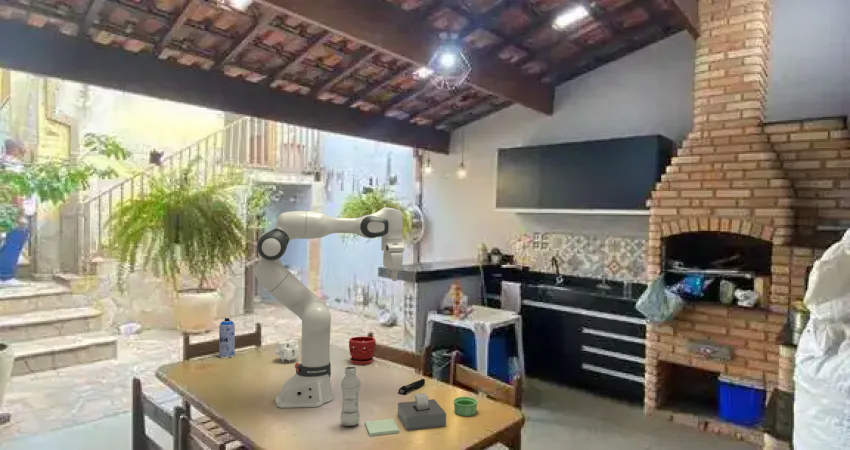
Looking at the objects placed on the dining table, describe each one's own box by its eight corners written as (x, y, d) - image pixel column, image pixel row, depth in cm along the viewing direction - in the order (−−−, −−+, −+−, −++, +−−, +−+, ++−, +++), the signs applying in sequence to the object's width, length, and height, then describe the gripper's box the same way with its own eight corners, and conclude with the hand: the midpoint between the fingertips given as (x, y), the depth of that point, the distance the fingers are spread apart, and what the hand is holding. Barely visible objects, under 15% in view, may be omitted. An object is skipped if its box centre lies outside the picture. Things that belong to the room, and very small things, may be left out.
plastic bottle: (341, 421, 179) (341, 365, 178) (360, 420, 179) (360, 365, 179) (339, 429, 172) (339, 371, 172) (359, 428, 173) (359, 370, 173)
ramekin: (470, 419, 182) (470, 407, 182) (449, 413, 186) (449, 402, 186) (481, 411, 189) (481, 399, 189) (460, 406, 194) (460, 394, 194)
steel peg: (417, 423, 177) (417, 398, 177) (414, 418, 181) (414, 394, 181) (428, 422, 179) (428, 396, 178) (425, 417, 182) (425, 393, 182)
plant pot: (373, 366, 245) (373, 341, 245) (347, 366, 245) (347, 341, 245) (376, 358, 258) (376, 335, 258) (351, 358, 258) (351, 335, 258)
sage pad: (369, 436, 167) (369, 433, 167) (364, 424, 176) (364, 421, 176) (399, 432, 170) (399, 429, 169) (392, 421, 179) (392, 418, 179)
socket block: (407, 430, 171) (407, 417, 171) (397, 415, 185) (397, 402, 185) (446, 426, 175) (446, 413, 175) (434, 411, 189) (434, 399, 189)
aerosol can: (215, 358, 258) (215, 319, 257) (224, 354, 265) (224, 316, 265) (229, 358, 256) (229, 319, 256) (238, 354, 264) (238, 316, 264)
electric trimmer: (427, 386, 217) (427, 379, 217) (404, 396, 205) (404, 388, 205) (420, 384, 220) (420, 377, 220) (397, 394, 207) (397, 386, 207)
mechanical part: (291, 356, 261) (291, 333, 261) (303, 361, 252) (303, 338, 252) (271, 360, 254) (271, 337, 253) (282, 365, 245) (282, 341, 244)
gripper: (379, 244, 216) (379, 276, 217) (389, 247, 197) (389, 282, 197) (393, 244, 218) (393, 276, 218) (405, 247, 199) (405, 282, 199)
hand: (391, 279), depth 208 cm, fingers open, 8 cm apart
